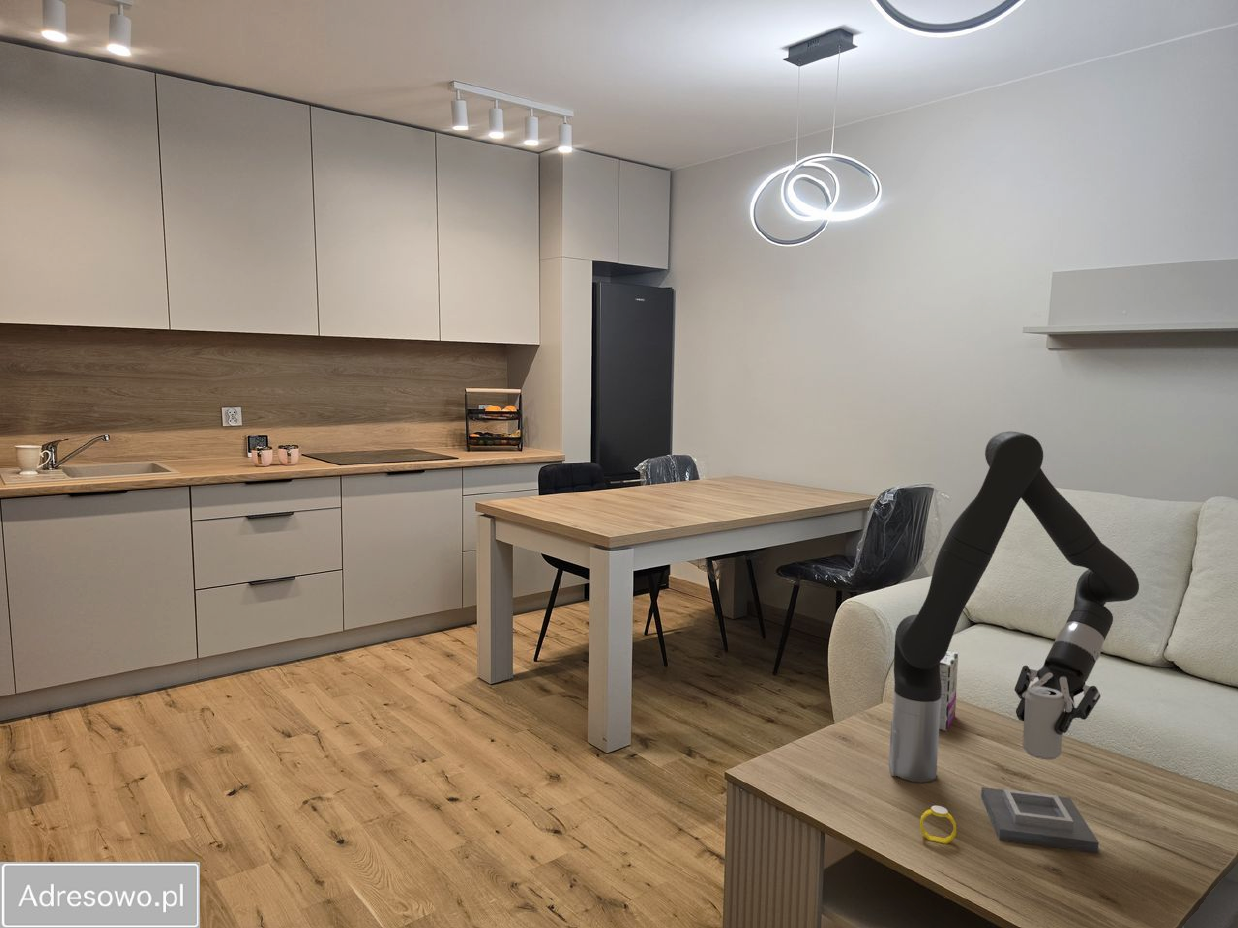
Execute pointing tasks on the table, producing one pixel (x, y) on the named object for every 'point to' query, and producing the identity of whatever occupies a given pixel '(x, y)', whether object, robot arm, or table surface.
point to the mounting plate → (1038, 819)
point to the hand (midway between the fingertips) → (1038, 725)
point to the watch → (941, 813)
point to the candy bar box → (948, 689)
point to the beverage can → (1042, 723)
